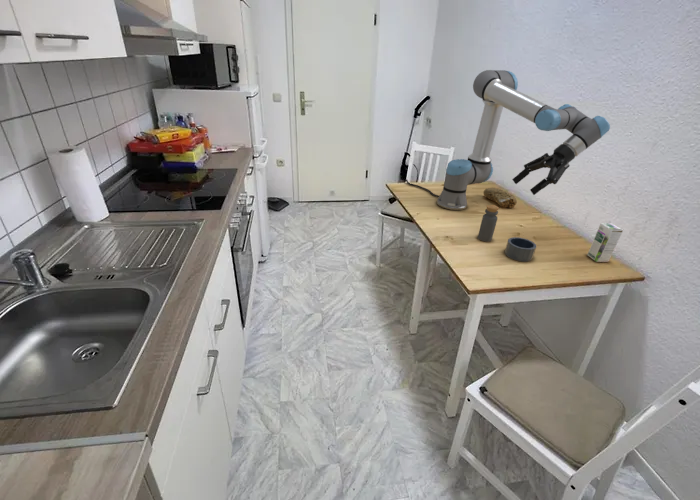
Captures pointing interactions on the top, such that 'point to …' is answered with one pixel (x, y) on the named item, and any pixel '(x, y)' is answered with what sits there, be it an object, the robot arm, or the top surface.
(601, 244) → the syrup box
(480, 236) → the bottle
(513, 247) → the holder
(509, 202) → the bread loaf
